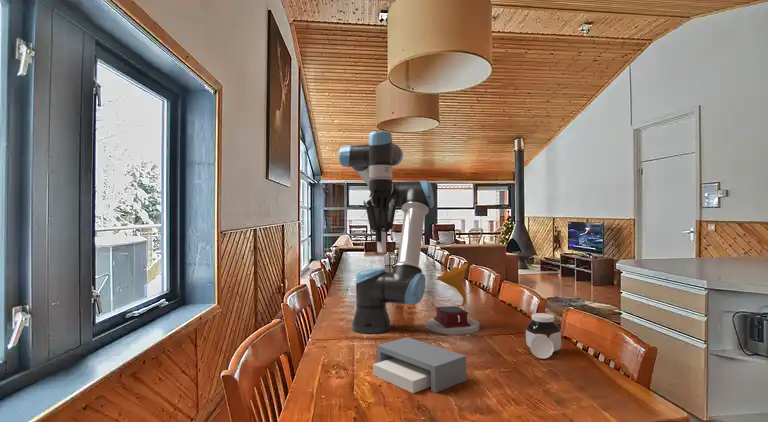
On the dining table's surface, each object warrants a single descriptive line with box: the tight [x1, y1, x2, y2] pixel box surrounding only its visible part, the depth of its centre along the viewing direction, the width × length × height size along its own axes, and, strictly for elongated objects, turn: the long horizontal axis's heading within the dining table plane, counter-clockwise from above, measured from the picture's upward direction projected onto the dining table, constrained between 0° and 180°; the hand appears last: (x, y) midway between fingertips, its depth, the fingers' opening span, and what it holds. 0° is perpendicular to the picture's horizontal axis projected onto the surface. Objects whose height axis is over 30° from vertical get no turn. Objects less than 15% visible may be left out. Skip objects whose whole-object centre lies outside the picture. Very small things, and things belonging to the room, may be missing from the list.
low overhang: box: [376, 337, 467, 394], centre depth 117 cm, size 23×12×6 cm, turn 40°
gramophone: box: [426, 263, 480, 336], centre depth 165 cm, size 20×20×25 cm
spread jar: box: [525, 312, 562, 360], centre depth 132 cm, size 12×11×12 cm
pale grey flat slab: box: [372, 357, 431, 394], centre depth 113 cm, size 16×10×3 cm, turn 40°
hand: (381, 251), depth 136 cm, fingers closed
